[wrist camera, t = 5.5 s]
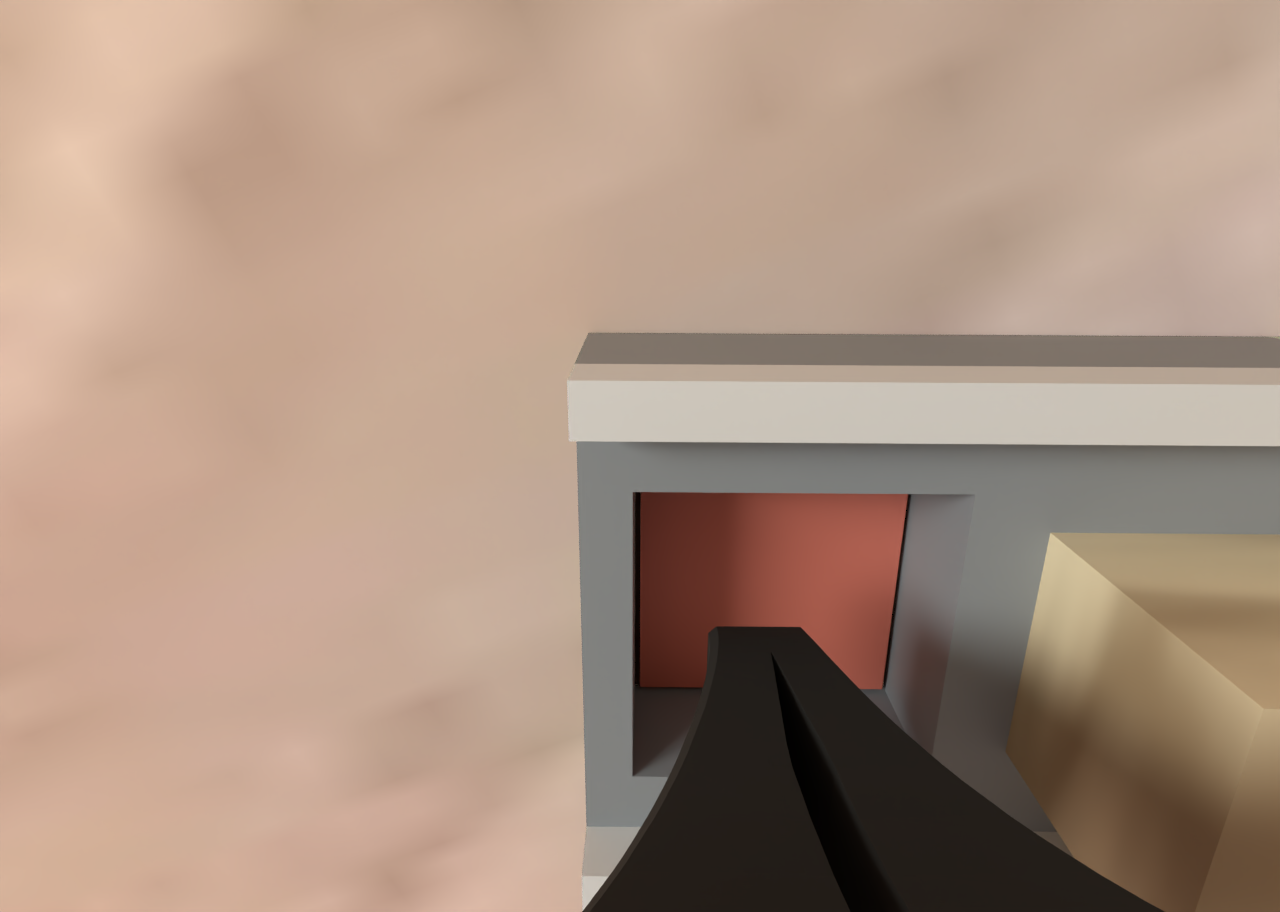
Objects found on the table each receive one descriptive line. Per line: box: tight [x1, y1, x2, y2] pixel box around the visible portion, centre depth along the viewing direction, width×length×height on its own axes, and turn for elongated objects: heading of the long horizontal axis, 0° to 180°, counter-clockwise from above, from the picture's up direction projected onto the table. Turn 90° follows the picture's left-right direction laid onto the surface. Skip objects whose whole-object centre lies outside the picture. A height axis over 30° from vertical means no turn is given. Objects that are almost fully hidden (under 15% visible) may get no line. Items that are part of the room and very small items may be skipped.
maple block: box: [1005, 533, 1280, 912], centre depth 10 cm, size 4×4×4 cm
